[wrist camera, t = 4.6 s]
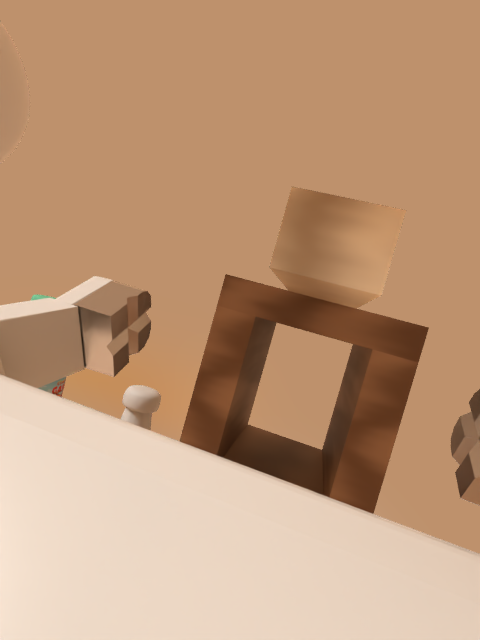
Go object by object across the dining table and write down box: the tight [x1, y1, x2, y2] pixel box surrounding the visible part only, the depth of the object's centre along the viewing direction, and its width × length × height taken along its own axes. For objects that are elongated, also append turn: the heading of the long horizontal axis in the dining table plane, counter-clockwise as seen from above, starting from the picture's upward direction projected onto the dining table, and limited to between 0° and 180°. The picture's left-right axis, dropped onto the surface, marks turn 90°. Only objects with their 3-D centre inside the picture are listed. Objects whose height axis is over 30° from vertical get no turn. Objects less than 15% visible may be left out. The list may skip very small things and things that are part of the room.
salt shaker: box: [121, 385, 161, 430], centre depth 45 cm, size 6×6×13 cm
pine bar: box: [269, 187, 406, 308], centre depth 25 cm, size 4×24×3 cm, turn 168°
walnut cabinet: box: [180, 274, 428, 514], centre depth 29 cm, size 12×12×27 cm
